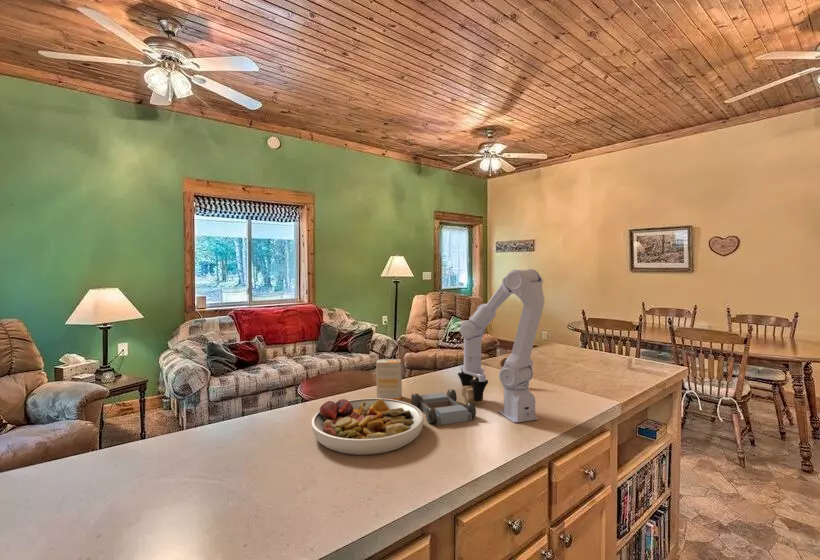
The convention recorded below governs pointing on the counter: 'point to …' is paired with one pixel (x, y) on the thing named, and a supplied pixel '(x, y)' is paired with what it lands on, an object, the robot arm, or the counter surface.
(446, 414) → the car chassis
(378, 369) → the supplement box
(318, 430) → the bowl
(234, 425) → the counter surface
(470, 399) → the engine block
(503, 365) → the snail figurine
